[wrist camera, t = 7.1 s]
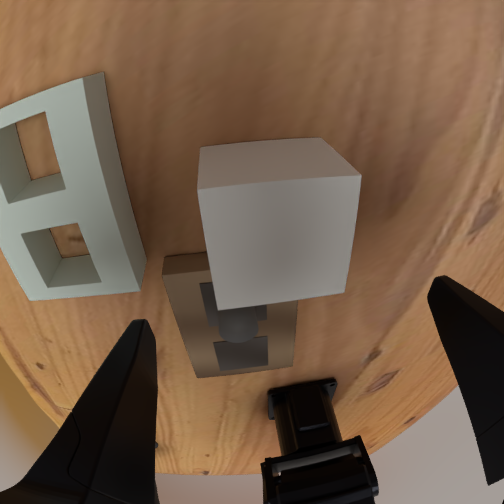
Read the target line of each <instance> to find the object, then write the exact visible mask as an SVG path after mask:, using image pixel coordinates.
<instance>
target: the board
mask: <svg viewBox="0 0 504 504" xmlns="http://www.w3.org/2000/svg"><path fill="white" fill-rule="evenodd" d="M162 278H163V281H164V284H165V288H166V291H167V294H168V297H169V300H170V303H171V306H172V309H173V312H174V315H175V318H176V321H177V324H178V327H179V330H180V333H181V336H182V339H183V341H184V344H185V347H186V350H187V352H188V355H189V358H190V361H191V363H192V366H193V368H194V371H195V374H196V376H197V378H205V377H216V376H226V375H235V374H243V373H251V372H259V371H266V370H273V369H279V368H286V367H292V366H293V358H294V346H295V334H296V321H297V306H298V300H293V301H286V302H279V303H272V304H265V305H257V306H249V307H241V308H233V309H225V310H218V308H217V303H216V297H215V292H214V287H213V281H212V276H211V270H210V265H209V259H208V254H207V252H205V253H197V254H188V255H180V256H171V257H164V264H163V270H162Z"/></svg>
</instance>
